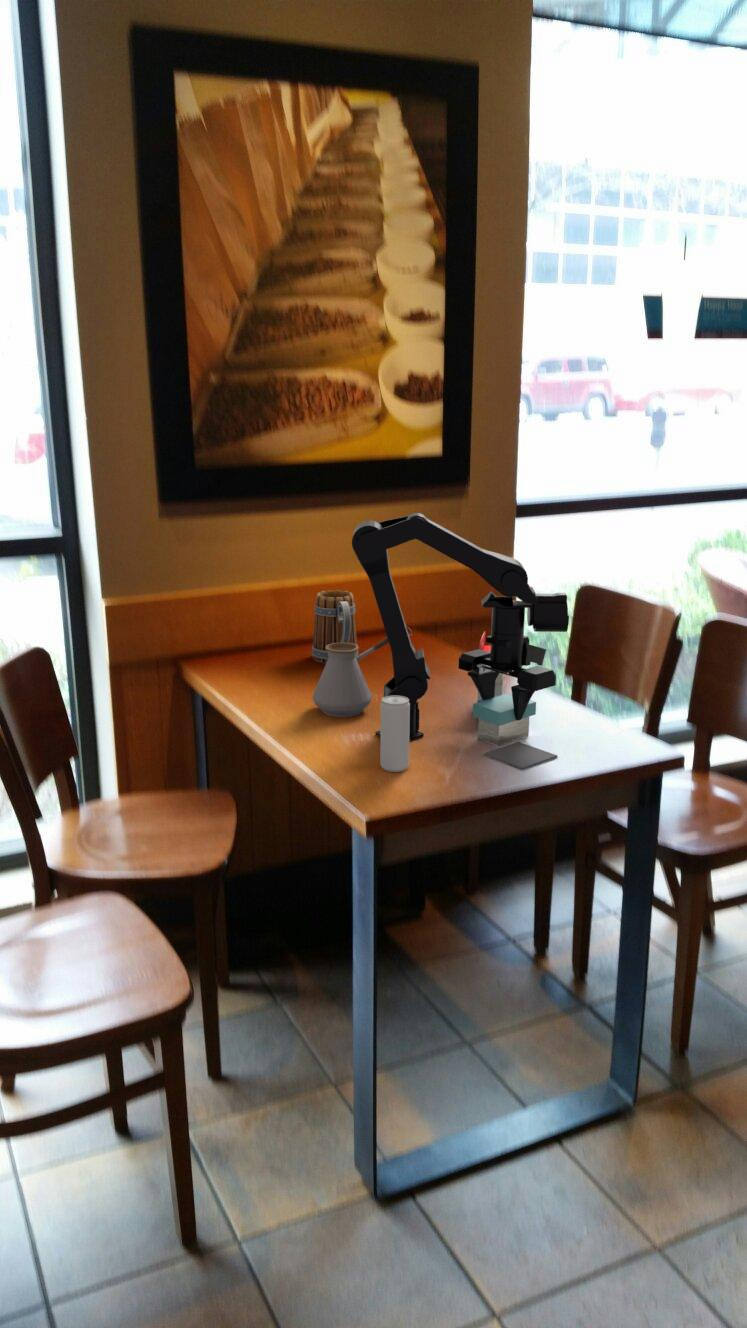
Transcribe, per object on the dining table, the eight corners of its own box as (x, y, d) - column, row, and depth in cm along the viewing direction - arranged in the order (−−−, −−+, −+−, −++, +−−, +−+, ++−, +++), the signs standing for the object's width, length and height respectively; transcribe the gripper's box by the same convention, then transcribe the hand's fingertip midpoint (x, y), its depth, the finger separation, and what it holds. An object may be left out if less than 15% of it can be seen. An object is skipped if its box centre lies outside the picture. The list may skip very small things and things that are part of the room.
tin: (498, 745, 191) (499, 719, 190) (477, 738, 195) (478, 712, 194) (528, 735, 196) (529, 709, 195) (508, 728, 200) (509, 703, 199)
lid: (499, 725, 189) (500, 712, 189) (472, 716, 194) (473, 703, 193) (535, 714, 195) (536, 701, 195) (508, 705, 200) (508, 693, 199)
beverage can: (408, 762, 184) (408, 694, 180) (409, 773, 179) (410, 704, 176) (379, 762, 183) (380, 695, 180) (380, 773, 179) (381, 704, 175)
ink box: (501, 716, 207) (504, 642, 203) (476, 715, 208) (478, 641, 204) (505, 703, 215) (508, 631, 211) (480, 701, 216) (483, 630, 212)
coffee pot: (330, 724, 202) (330, 646, 198) (302, 707, 212) (301, 633, 208) (425, 706, 213) (427, 632, 209) (394, 690, 222) (395, 619, 218)
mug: (306, 654, 248) (305, 590, 244) (350, 651, 251) (350, 587, 247) (324, 673, 234) (323, 605, 230) (370, 669, 237) (371, 602, 233)
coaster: (521, 770, 180) (522, 767, 180) (482, 755, 187) (482, 753, 187) (557, 757, 186) (557, 755, 186) (517, 743, 193) (518, 741, 192)
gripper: (578, 634, 189) (573, 718, 193) (499, 614, 202) (496, 694, 206) (536, 644, 182) (532, 732, 186) (457, 623, 195) (455, 706, 199)
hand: (504, 715), depth 195 cm, fingers closed on lid, 7 cm apart
